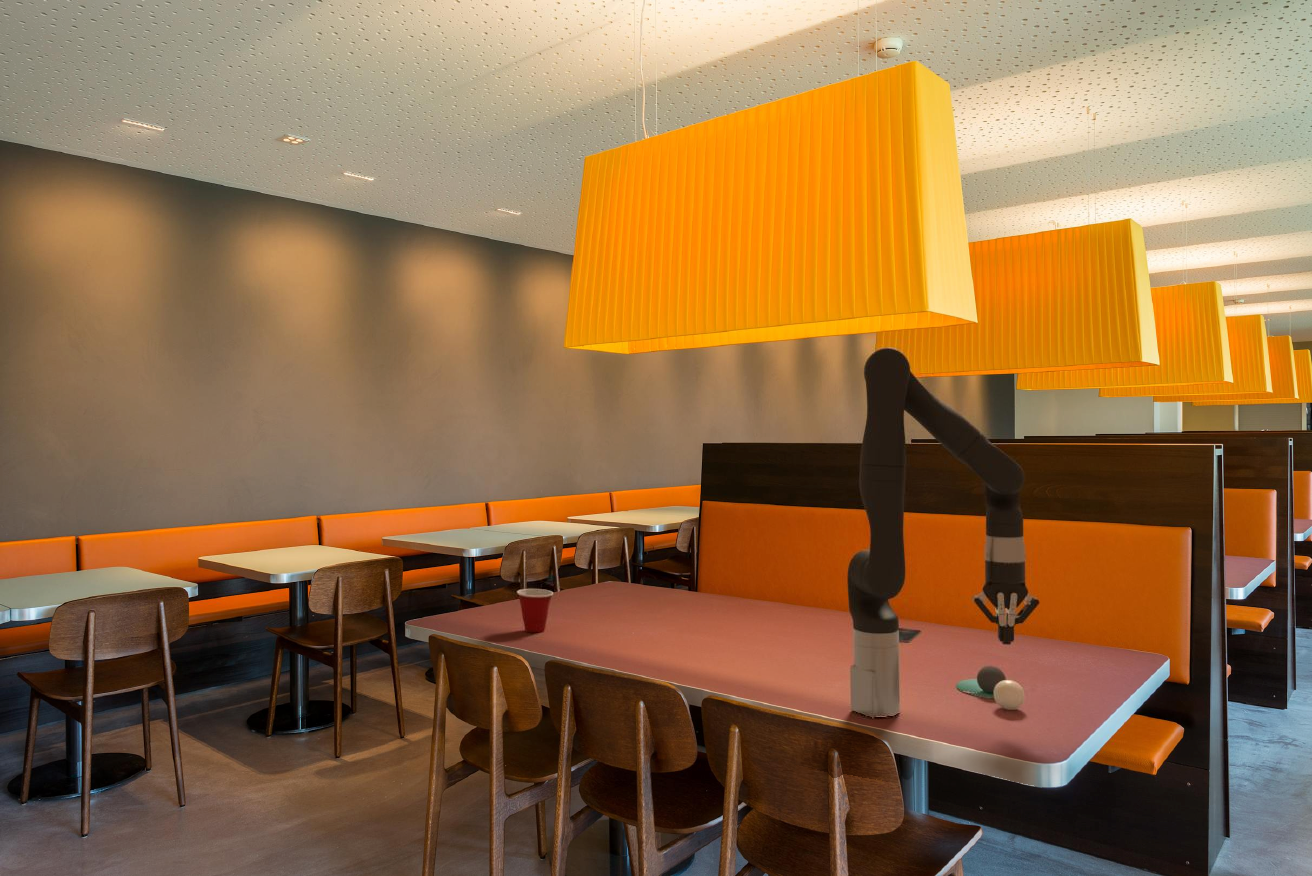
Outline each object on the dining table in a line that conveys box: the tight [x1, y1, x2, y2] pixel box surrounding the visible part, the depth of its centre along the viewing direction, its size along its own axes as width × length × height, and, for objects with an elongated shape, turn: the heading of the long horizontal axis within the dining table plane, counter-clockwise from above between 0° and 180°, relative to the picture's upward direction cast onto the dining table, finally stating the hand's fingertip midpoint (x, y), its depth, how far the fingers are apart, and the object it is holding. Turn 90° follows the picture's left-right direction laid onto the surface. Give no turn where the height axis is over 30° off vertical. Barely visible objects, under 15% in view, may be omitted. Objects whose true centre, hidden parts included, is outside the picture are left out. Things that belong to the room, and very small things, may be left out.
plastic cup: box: [516, 588, 554, 633], centre depth 250 cm, size 11×11×12 cm
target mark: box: [955, 678, 994, 699], centre depth 189 cm, size 14×14×1 cm
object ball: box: [976, 665, 1007, 694], centre depth 185 cm, size 6×6×6 cm
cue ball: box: [994, 679, 1026, 711], centre depth 175 cm, size 6×6×6 cm
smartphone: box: [899, 627, 922, 643], centre depth 239 cm, size 8×1×15 cm
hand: (1005, 643), depth 170 cm, fingers closed
